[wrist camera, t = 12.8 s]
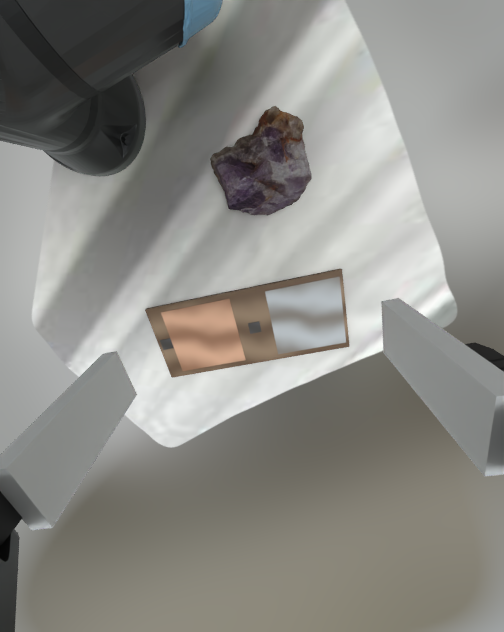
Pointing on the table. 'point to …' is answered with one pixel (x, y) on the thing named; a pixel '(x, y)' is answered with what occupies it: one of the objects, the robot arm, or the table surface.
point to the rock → (265, 165)
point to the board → (252, 324)
